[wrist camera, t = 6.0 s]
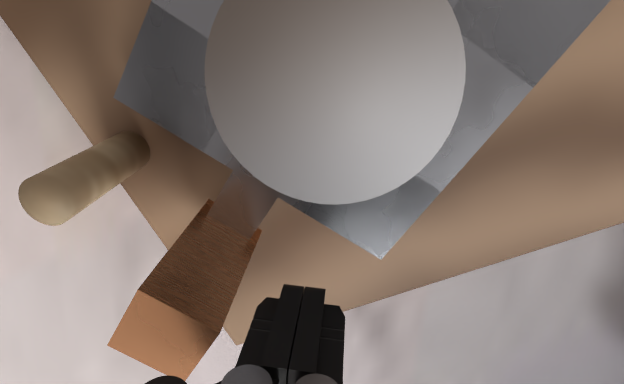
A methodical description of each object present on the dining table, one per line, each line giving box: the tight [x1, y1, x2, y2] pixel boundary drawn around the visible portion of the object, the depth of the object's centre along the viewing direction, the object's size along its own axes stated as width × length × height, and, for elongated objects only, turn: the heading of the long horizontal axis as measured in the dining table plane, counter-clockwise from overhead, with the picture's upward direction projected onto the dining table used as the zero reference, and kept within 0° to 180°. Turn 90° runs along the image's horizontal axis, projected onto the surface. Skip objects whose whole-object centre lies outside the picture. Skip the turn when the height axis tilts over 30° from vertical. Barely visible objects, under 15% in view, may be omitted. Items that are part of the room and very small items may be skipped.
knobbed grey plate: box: [108, 0, 610, 381], centre depth 11 cm, size 16×12×7 cm
